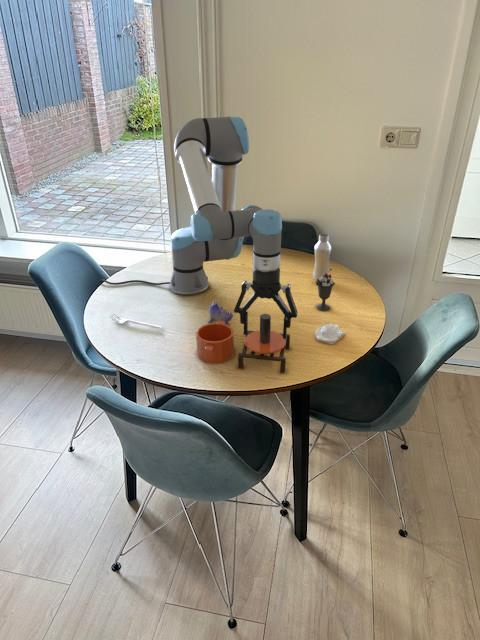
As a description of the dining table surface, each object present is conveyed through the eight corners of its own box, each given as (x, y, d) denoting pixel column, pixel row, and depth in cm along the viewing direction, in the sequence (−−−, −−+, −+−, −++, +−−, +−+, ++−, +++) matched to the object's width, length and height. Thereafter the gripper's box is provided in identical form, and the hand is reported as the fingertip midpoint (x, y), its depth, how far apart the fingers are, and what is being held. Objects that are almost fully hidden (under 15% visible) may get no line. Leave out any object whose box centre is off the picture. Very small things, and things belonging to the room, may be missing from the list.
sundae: (334, 305, 176) (338, 268, 169) (329, 313, 171) (333, 275, 164) (317, 301, 179) (320, 264, 171) (311, 309, 174) (314, 272, 166)
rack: (238, 368, 143) (237, 354, 140) (246, 343, 155) (246, 330, 152) (284, 373, 141) (285, 359, 138) (289, 347, 152) (290, 334, 150)
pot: (190, 366, 144) (189, 345, 140) (204, 336, 158) (203, 317, 155) (227, 370, 142) (227, 349, 138) (238, 340, 156) (238, 320, 153)
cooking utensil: (160, 331, 161) (159, 326, 160) (109, 321, 167) (108, 317, 166) (164, 327, 164) (164, 322, 163) (114, 317, 170) (113, 312, 169)
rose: (348, 333, 151) (317, 333, 151) (347, 345, 153) (316, 345, 153) (343, 317, 160) (314, 317, 160) (342, 329, 162) (313, 329, 162)
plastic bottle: (329, 286, 190) (334, 238, 180) (312, 286, 190) (316, 238, 180) (327, 279, 196) (331, 232, 186) (311, 279, 196) (314, 232, 186)
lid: (241, 353, 141) (240, 325, 136) (248, 331, 151) (248, 304, 146) (283, 357, 139) (284, 329, 134) (287, 335, 149) (288, 308, 144)
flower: (214, 319, 155) (224, 295, 160) (195, 322, 160) (205, 299, 165) (231, 336, 160) (240, 312, 165) (212, 338, 166) (221, 315, 171)
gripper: (222, 269, 131) (224, 337, 142) (308, 275, 127) (303, 344, 138) (227, 259, 138) (229, 324, 149) (310, 264, 134) (305, 331, 145)
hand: (265, 334), depth 143 cm, fingers open, 11 cm apart
